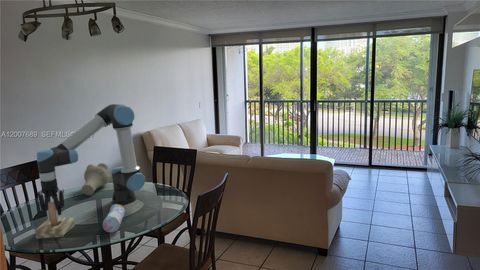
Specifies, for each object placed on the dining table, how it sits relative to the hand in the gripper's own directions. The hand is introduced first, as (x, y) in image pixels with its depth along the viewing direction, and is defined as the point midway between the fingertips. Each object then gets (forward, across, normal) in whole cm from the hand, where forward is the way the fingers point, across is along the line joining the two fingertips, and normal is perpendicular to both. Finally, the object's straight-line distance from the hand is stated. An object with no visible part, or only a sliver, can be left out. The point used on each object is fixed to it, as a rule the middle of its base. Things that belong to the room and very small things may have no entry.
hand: (54, 220), depth 185 cm
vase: (+6, +4, -66) cm, 66 cm away
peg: (+3, 0, 0) cm, 3 cm away
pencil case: (+7, -31, -3) cm, 32 cm away
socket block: (+6, 0, 0) cm, 6 cm away
